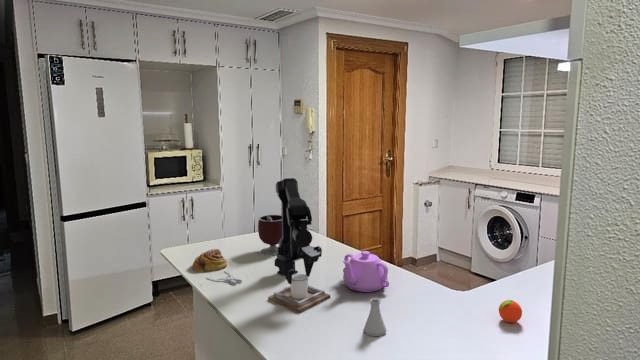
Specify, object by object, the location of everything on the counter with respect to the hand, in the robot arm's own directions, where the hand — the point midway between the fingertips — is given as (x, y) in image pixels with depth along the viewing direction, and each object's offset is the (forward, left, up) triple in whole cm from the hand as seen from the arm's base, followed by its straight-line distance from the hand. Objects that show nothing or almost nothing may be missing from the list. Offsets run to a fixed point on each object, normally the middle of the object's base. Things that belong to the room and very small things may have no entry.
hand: (299, 280), depth 156 cm
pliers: (+6, -36, -8) cm, 37 cm away
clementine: (-32, +63, -8) cm, 71 cm away
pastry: (+2, -54, -8) cm, 55 cm away
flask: (+1, +34, -8) cm, 35 cm away
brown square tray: (0, 0, -7) cm, 7 cm away
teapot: (-23, +11, -8) cm, 27 cm away
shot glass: (0, 0, -6) cm, 6 cm away
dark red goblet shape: (-29, -47, -8) cm, 56 cm away
